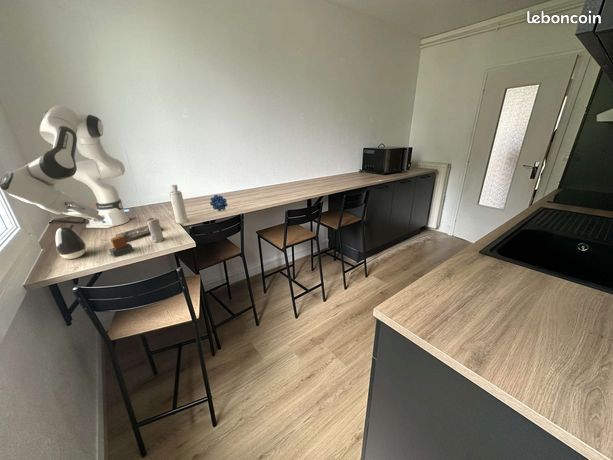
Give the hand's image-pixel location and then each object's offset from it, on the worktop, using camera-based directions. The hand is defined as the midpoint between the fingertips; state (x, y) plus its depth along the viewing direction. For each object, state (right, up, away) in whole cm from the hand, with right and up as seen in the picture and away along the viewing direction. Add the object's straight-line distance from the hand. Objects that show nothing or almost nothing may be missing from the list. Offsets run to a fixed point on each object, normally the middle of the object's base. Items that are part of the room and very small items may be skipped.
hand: (97, 219), depth 110 cm
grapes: (+31, +8, +67) cm, 74 cm away
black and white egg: (-19, -18, +10) cm, 28 cm away
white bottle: (+12, 0, +50) cm, 52 cm away
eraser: (+2, -16, +13) cm, 20 cm away
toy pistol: (-3, -7, +33) cm, 34 cm away
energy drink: (+12, -11, +25) cm, 30 cm away
